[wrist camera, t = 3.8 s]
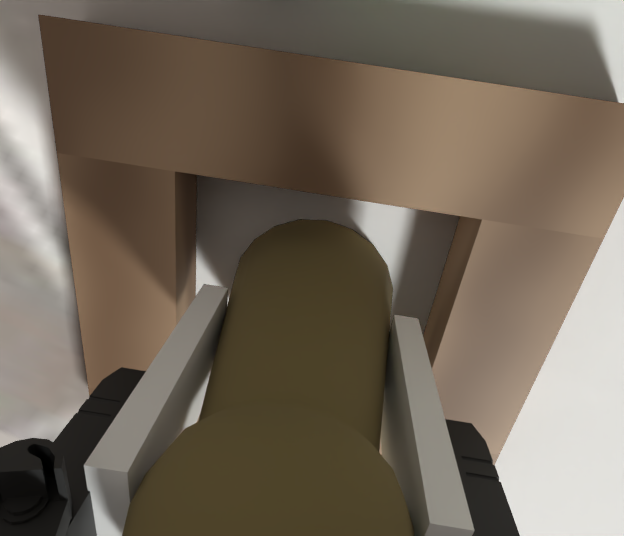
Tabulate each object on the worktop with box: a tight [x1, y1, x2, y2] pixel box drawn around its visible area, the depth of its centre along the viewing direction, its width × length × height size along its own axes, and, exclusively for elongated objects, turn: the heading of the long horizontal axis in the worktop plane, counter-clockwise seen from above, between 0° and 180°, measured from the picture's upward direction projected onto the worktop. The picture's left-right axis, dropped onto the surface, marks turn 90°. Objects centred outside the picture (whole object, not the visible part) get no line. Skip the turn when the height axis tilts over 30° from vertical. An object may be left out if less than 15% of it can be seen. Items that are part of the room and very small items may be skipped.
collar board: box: [38, 15, 624, 465], centre depth 15 cm, size 16×16×2 cm
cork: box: [122, 219, 415, 536], centre depth 11 cm, size 6×6×11 cm
